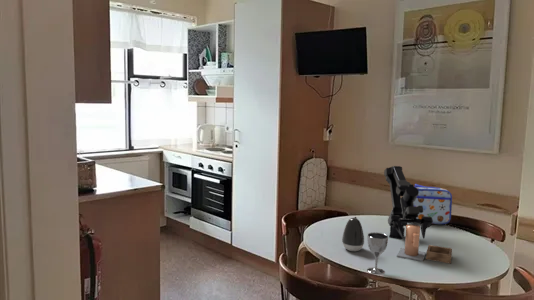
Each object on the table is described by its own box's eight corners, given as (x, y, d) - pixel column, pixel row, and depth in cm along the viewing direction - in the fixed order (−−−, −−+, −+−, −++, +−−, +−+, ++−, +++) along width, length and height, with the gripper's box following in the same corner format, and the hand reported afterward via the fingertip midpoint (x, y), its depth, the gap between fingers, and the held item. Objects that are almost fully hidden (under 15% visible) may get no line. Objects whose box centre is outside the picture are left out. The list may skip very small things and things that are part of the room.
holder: (426, 259, 186) (426, 251, 185) (428, 252, 195) (428, 244, 194) (450, 263, 181) (451, 255, 181) (451, 256, 190) (452, 248, 190)
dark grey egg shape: (365, 247, 199) (366, 216, 198) (362, 254, 190) (364, 222, 188) (343, 244, 203) (344, 213, 201) (340, 251, 193) (341, 219, 191)
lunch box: (400, 223, 241) (403, 185, 238) (398, 218, 251) (401, 182, 248) (451, 226, 235) (454, 188, 233) (447, 221, 245) (450, 184, 243)
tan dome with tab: (402, 251, 193) (404, 223, 192) (416, 251, 193) (417, 224, 192) (408, 258, 185) (410, 229, 183) (422, 258, 184) (424, 230, 183)
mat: (396, 256, 188) (396, 255, 188) (400, 249, 198) (400, 248, 197) (422, 261, 183) (422, 260, 183) (425, 253, 193) (425, 252, 193)
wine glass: (363, 267, 175) (365, 232, 174) (381, 266, 176) (383, 232, 174) (369, 275, 167) (371, 238, 166) (388, 274, 168) (391, 238, 166)
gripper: (391, 198, 192) (396, 228, 182) (433, 199, 191) (440, 230, 181) (386, 210, 200) (390, 240, 191) (426, 211, 199) (432, 241, 190)
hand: (413, 237), depth 188 cm, fingers open, 9 cm apart
